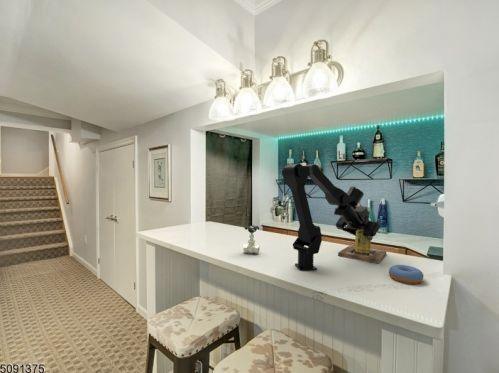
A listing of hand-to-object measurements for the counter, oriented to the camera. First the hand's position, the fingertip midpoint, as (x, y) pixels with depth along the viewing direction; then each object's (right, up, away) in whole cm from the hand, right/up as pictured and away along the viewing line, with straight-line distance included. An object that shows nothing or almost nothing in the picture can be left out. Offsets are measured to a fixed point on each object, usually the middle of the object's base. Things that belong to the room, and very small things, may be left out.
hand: (365, 237), depth 113 cm
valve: (-50, -7, 0) cm, 51 cm away
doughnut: (+1, -9, -27) cm, 29 cm away
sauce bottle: (-1, -8, 0) cm, 8 cm away
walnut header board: (-1, -8, 0) cm, 8 cm away
